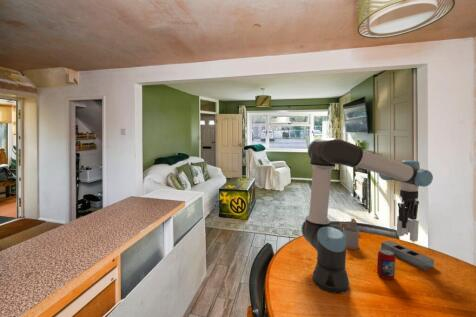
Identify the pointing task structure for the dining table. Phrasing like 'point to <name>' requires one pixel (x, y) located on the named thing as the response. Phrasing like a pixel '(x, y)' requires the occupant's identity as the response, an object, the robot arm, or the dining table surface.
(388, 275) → the beverage can
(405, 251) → the block with rectangular holes
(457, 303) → the dining table surface
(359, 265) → the dining table surface
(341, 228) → the ruin model on sheet
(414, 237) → the upright white panel
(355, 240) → the cup
